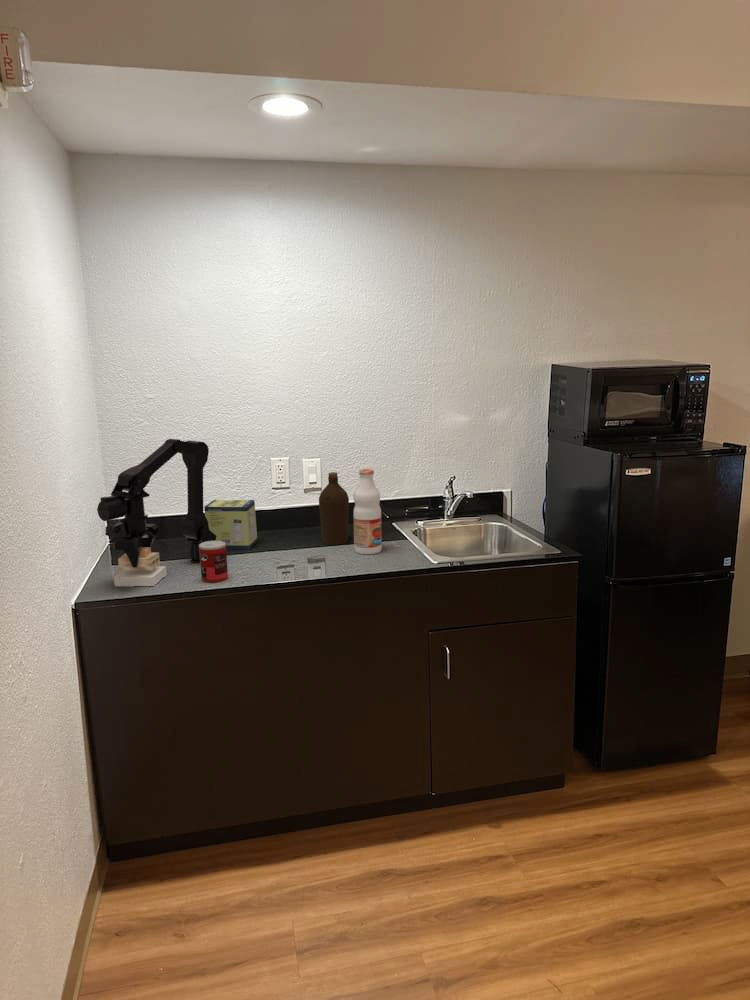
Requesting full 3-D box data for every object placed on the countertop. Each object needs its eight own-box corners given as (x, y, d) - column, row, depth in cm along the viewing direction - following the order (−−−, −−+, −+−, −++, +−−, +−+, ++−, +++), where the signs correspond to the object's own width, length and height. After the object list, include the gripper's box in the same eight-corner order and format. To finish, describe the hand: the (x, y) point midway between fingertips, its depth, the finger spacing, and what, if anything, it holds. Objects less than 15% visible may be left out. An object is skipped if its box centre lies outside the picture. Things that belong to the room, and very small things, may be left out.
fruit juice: (355, 546, 238) (353, 467, 232) (382, 546, 237) (381, 467, 231) (353, 554, 229) (350, 473, 222) (381, 555, 228) (379, 472, 222)
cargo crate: (151, 553, 207) (150, 547, 207) (145, 557, 203) (145, 551, 203) (132, 553, 208) (131, 547, 207) (126, 557, 204) (125, 551, 203)
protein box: (216, 541, 248) (212, 499, 245) (257, 541, 247) (255, 499, 243) (206, 549, 238) (203, 506, 235) (250, 549, 237) (247, 506, 233)
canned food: (203, 575, 211) (200, 541, 209) (229, 573, 212) (227, 539, 210) (199, 583, 204) (196, 548, 201) (226, 582, 205) (224, 547, 202)
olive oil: (351, 544, 240) (349, 475, 235) (321, 546, 239) (319, 476, 233) (348, 536, 251) (346, 469, 245) (319, 538, 249) (316, 471, 243)
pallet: (160, 563, 209) (158, 552, 208) (151, 570, 203) (150, 559, 202) (128, 563, 210) (127, 552, 209) (119, 570, 204) (117, 558, 203)
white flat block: (166, 575, 211) (165, 566, 211) (153, 586, 202) (152, 577, 201) (129, 575, 213) (128, 565, 212) (114, 586, 203) (113, 576, 202)
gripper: (122, 506, 212) (127, 554, 216) (93, 521, 194) (99, 573, 198) (157, 506, 211) (161, 554, 215) (130, 521, 193) (136, 574, 197)
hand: (139, 563), depth 206 cm, fingers closed on pallet, 6 cm apart
